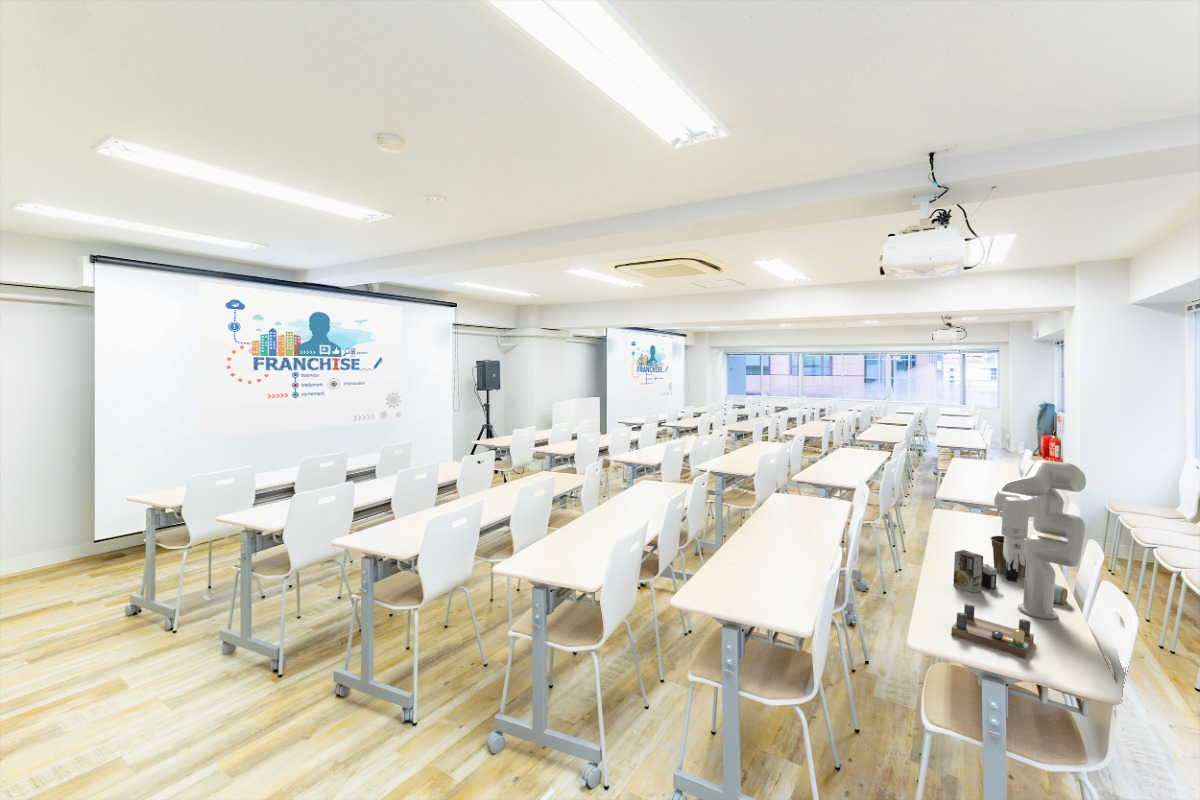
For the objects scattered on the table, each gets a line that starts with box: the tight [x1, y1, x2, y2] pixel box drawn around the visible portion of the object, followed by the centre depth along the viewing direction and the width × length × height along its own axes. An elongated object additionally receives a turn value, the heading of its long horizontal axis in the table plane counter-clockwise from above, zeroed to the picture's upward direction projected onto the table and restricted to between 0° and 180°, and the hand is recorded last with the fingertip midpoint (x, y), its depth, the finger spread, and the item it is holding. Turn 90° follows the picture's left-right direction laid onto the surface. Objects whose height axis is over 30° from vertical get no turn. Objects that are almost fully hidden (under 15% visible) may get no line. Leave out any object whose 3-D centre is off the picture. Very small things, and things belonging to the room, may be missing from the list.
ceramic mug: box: [1054, 583, 1068, 605], centre depth 234 cm, size 11×8×8 cm
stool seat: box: [950, 603, 1035, 659], centre depth 200 cm, size 16×22×8 cm
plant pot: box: [990, 535, 1026, 578], centre depth 264 cm, size 16×16×16 cm
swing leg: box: [992, 628, 1025, 647], centre depth 192 cm, size 9×3×5 cm, turn 39°
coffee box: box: [953, 549, 984, 594], centre depth 245 cm, size 9×6×16 cm
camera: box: [982, 562, 998, 591], centre depth 251 cm, size 14×9×10 cm, turn 1°
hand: (1011, 580), depth 198 cm, fingers closed
